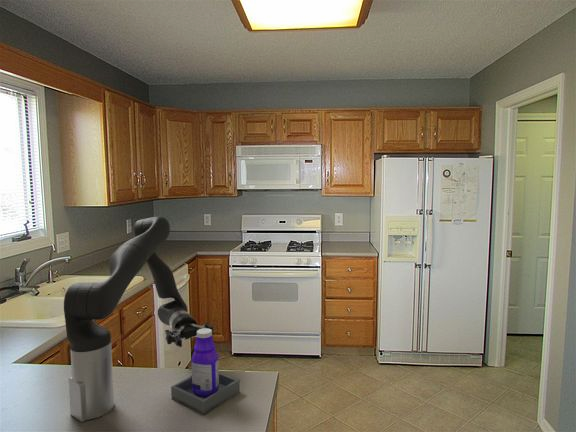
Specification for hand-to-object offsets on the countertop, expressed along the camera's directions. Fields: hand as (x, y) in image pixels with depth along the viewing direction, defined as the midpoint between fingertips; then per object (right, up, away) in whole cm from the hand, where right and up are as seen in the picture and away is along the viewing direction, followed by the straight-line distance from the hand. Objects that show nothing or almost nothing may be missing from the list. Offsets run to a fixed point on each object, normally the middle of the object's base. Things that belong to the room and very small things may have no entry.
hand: (195, 340), depth 109 cm
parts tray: (+5, -12, -8) cm, 16 cm away
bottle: (+5, -12, -8) cm, 15 cm away
